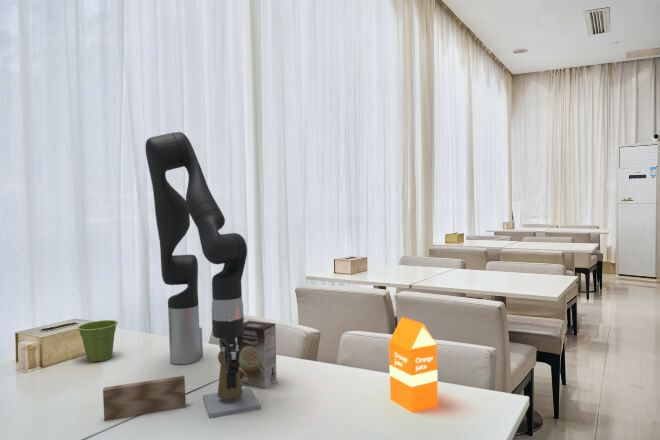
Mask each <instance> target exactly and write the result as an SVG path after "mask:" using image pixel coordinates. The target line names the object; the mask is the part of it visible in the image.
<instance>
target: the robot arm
mask: <svg viewBox="0 0 660 440" xmlns="http://www.w3.org/2000/svg"><path fill="white" fill-rule="evenodd" d="M144 147H145V156H146V160H147V161H146V162H147V167H148V170H149V175H150V180H151V186H152V191H153V200H154V213H155V214H154V215H155V221H156V228H157V233H158V239H159V247H160V248H159V249H160V250H159V252H160V267H161V268H160V269H161V277H162V281H163V283H164V284H165V285H167V286H179V285H181V286H182V285H187V287H186V288H185V289H184V290H182V291H181V292H179V293H176V294H174V295H171V296H170V297H168V299H167V313H168V314H167V315H168V318H167V319H168V338H169V339H168V342H169V345H168V346H169V362H170V363H171V364H172V365H188V364H193V363H196V362H198V361H200V360H201V359H202V358H204V349H203V348H204V345H203V328H202V327H201V326H200V311H199V309H200V308H199V284H198V283H199V262H198V258H197V256H196V255H194V254H177V255H176V254H175V255H173V253H174V251H175V250H176V247H178V244H179V243H181V241H182V240H183V238H184V237H185V236H186V234H187V233H188V231H189V229H190V224H191V218H192V220H193V222H194V223H193V224H194V225H195V226H196V228H197V232H198V236H199V240H200V245H201V250H202V254H203V255H204V257H205V259H206V260H207V261H208V262H209V263H211V264H213V265H222V264H223V267H222V269H221V270H220V271H219V272H217V273H216V274H214V275H213V276H212V279H211V293H212V298H211V299H212V301H211V326H212V327H211V329H212V330H211V331H212V337H213V338H215V339H219V341H218V342H219V349H220V350H219V351H222V353H223V363H224V364H225V365H226V375H227V389H230V388H232V387H233V388H234V389H235V388H236V387H237V385H236V373H238V371H239V369H238V368H239V351H238V343H237V337H239V336H241V335H243V333H244V323H245V321H244V320H245V319H244V318H245V317H244V315H245V314H244V301H243V295H242V290H243V288H242V279H243V273H244V270H245V265H246V260H247V256H248V247H247V246H248V245H247V241H246V240H245V237H243V235H241V234H239V233H237V232H231V233H220V232H219V231H220V230H221V229H223V227H224V225H225V223H226V218H225V215H224V213H223V212H222V211H221V208H220V207H219V205H218V204H217V201H216V199H215V198H214V196H213V195H212V193H211V192H212V191H211V190H210V188H209V186H208V185H209V184H207V180H206V178H205V175H204V173H203V170H202V168H201V165H200V161H199V160H198V157H197V155H196V152H195V150H194V147H193V145H192V143H191V141H190V139H189V138H188V137H187V135H186V134H185V133H183V132H182V131H177V132H176V131H175V132H169V133H164V134H160V135H156V136H152V137H149V138H147V140H146V142H145V146H144ZM183 167H184V168H185V169H186V171H187V174H188V175H187V176H188V183H187V188H186V194H185V198H184V197H183V196H182V195H181V194H180V193H179V191H177V190H176V189H174V188H173V186H172V185H171V184H170V182H169V181H168V179H167V175H166V173H167V172H168V171H171V170H175V169H180V168H183ZM226 357H227V358H228V361H227V360H226ZM231 366H234V368H231V369H230V367H231Z"/></svg>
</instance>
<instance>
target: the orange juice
mask: <svg viewBox="0 0 660 440" xmlns="http://www.w3.org/2000/svg"><path fill="white" fill-rule="evenodd" d="M388 344H389V345H388V346H389V347H388V349H389V350H388V351H389V353H388V354H389V385H390V386H389V389H390V396H389V397H390V401H392V402H394V403H396V404H398V406H400V405H401V407H402V408H404V409H405V410H407V411H409V412H410V413H417V412H419V411H422V410H427V409H430V408H434V407H437V406H438V401H439V400H438V398H439V397H438V353H437V352H438V350H437V349H438V346H437V345H438V344H437V343H436V341H435V339H434V338H433V336H432V335H431V334H430V331H428V329H427V327H426V326H425V324H424V323H422V322H419V321H415V320H412V319H409V318H407V317H403V316H401V318H400V319H399V322H398V324H397V326H396V328H395V330H394V332H393V334H392V336H391V337H390V339H389V341H388Z"/></svg>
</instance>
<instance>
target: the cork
mask: <svg viewBox="0 0 660 440" xmlns="http://www.w3.org/2000/svg"><path fill="white" fill-rule="evenodd" d="M239 359H240V354H239ZM217 360H218V363H219V364H220V366H219V377H218V378H219V380H218V387H217V388H218V389H217V393H218V397H219V398H222V399H233V398H237V397H239V396H241V395H242V394H243V392H242V389H243V388H242V384H241V380H240V374H239V371H238V373H236V385H237V387H236V388H235V389H234V388H233V387H232V388H230V389H227V375H226V365H225V364H224V363H223V353H222V351H221V350H219V352H218V356H217ZM226 360H227V361H228V358H227V357H226ZM231 368H234V366H231V367H230V369H231ZM238 369H239V368H238Z"/></svg>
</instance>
